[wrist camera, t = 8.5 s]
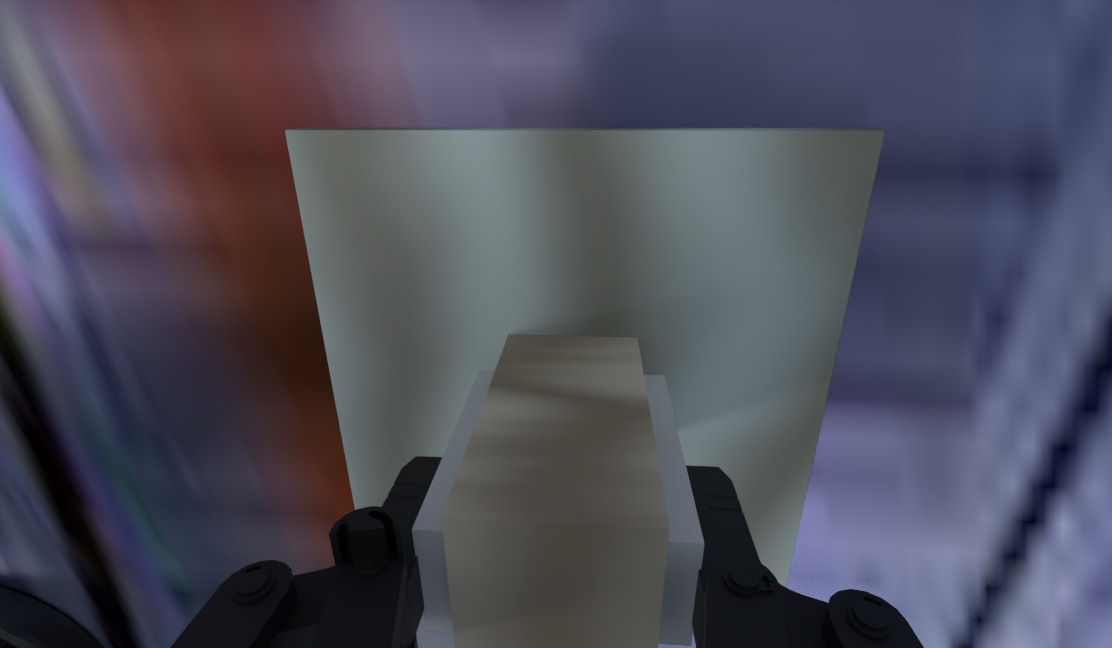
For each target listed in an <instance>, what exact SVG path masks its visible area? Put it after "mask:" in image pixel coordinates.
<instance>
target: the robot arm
mask: <svg viewBox="0 0 1112 648" xmlns="http://www.w3.org/2000/svg"><path fill="white" fill-rule="evenodd" d="M494 372H495V370H479V372H478V374H477V377H476V379H475V381H474V384H473V386H472V389H471V391H470V393H469V396H468V398H467V400H466V403H465V405H464V407H463V410H462V412H461V414H460V417H459V419H458V422H457V424H456V426H455V429H454V431H453V433H452V436H451V438H450V440H449V443H448V445H447V448H446V450H445V452H444V455H443V457H427V456H416V457H414V458H413V459H412V460H411V461H410V462H408V463H407V464H406V465H405V466H404V467H403V468H401V470H400V472H399V474H398V476H397V478H396V480H395V482H394V486H392V488H391V490H390V492H389V493H388V497H387V498H386V499H385V501H384V503H383V505H382V507H377V506H370V507H365V508H361V509H357V510H355V511H353V512H351V513H348V514H346V515H345V516H343V517H342V518H341V519H340V520H339V521H337V522H336V523H335V524H334V526H333V528H332V529H331V531H330V533H329V536H330V541H331V545H332V550H333V555H334V559H335V564H336V565H335V566H332V567H330V568H326V569H323V570H319V571H314V572H309V573H305V574H300V575H295V576H293V575H292V571H291V569H290V568H289V567H288V566H287V565H286V564H285V563H283V562H279V561H276V560H269V561H260V562H257V563H254V564H251V565H248V566H245V567H244V568H242V569H240V570H239V571H237V572H235V573H233V574H232V575H231V576H230V577H229V578H228V579H227V580H226V581H225V582H224V583H223V584H221V586H220V587H219V588H218V589H217V591H216V592H215V593H214V594H213V596H212V597H211V598H210V599H209V601H208V602H207V603H206V604H205V605H204V607H203V608H202V609H201V610H200V612H199V613H198V614H197V615H196V617H195V618H194V619H193V620H192V622H191V623H190V624H189V625H188V626H187V628H186V629H185V630H184V631H183V633H182V634H181V635H180V636H179V638H178V639H177V640H176V641H175V643H174V644H173V645H172V646H171V647H170V648H418V644H417V636H416V632H417V629H418V626H419V623H420V620H421V617H422V614H423V615H424V623H425V630H438V631H453V623H452V614H451V604H450V595H449V586H448V577H447V567H446V558H445V549H444V540H443V531H442V521H441V516H442V513H443V510H444V508H445V505H446V502H447V499H448V497H449V494H450V491H451V489H452V486H453V483H454V480H455V478H456V475H457V472H458V470H459V467H460V464H461V461H462V459H463V456H464V453H465V451H466V448H467V445H468V442H469V440H470V437H471V434H472V432H473V429H474V426H475V423H476V421H477V418H478V415H479V413H480V410H481V407H482V404H483V402H484V399H485V396H486V394H487V391H488V388H489V386H490V383H491V380H492V377H493V375H494ZM644 378H645V384H646V390H647V396H648V402H649V408H650V413H651V419H652V425H653V431H654V437H655V443H656V449H657V455H658V461H659V467H660V472H661V478H662V484H663V490H664V496H665V502H666V508H667V514H668V520H669V526H670V531H669V541H668V551H667V561H666V571H665V581H664V591H663V601H662V611H661V622H660V632H659V642H658V644H669V645H685V646H691V641H692V634H693V632H694V637H695V643H696V648H924V647H923V646H922V644H921V642H920V641H919V639H918V638H917V636H916V634H915V633H914V631H913V630H912V628H911V627H910V625H909V623H908V622H907V621H906V619H905V618H904V617H903V616H902V615H901V614H900V612H899V611H898V610H897V609H896V608H895V607H893V606H892V605H890V604H889V603H888V602H886V601H885V600H883V599H882V598H880V597H877V596H875V595H873V594H870V593H868V592H865V591H859V590H853V589H849V590H842V591H838V592H837V593H835V594H834V595H833V596H831V597H830V600H829V603H827V602H824V601H820V600H817V599H814V598H811V597H808V596H805V595H801V594H799V593H796V592H794V591H791V590H789V589H788V588H786V587H784V586H783V585H781V584H779V583H778V581H777V578H776V577H775V576H774V575H773V573H772V572H771V571H770V570H769V569H768V568H767V567H766V566H764V565H763V564H762V563H761V561H760V559H759V556H758V554H757V551H756V548H755V545H754V542H753V539H752V536H751V534H750V531H749V528H748V525H747V522H746V519H745V516H744V513H742V508H741V505H740V502H739V500H738V498H737V497H738V496H737V493H736V491H735V488H734V485H733V482H732V480H731V479H730V478H729V477H728V476H727V475H726V474H725V473H724V472H723V471H722V470H721V469H720V468H719V467H713V466H688V465H686V464H685V460H684V456H683V451H682V447H681V443H680V439H679V435H678V431H677V426H676V422H675V418H674V414H673V410H672V406H671V401H670V397H669V393H668V389H667V385H666V380H665V376H664V375H644ZM0 648H100V647H99V646H98V645H97V643H96V642H95V641H94V640H93V639H92V638H91V637H90V636H89V635H88V634H87V633H86V632H84V631H83V630H82V629H81V628H80V627H79V626H77V625H76V624H75V623H74V622H72V621H71V620H69V619H68V618H67V617H65V616H64V615H62V614H61V613H59V612H57V611H56V610H54V609H52V608H51V607H49V606H47V605H45V604H43V603H41V602H39V601H37V600H35V599H33V598H30V597H28V596H26V595H23V594H21V593H18V592H15V591H12V590H9V589H6V588H2V587H0Z"/></svg>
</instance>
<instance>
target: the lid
mask: <svg viewBox="0 0 1112 648" xmlns="http://www.w3.org/2000/svg"><path fill="white" fill-rule="evenodd" d="M285 133H286V139H287V144H288V150H289V155H290V160H291V166H292V171H293V177H294V182H295V187H296V193H297V198H298V204H299V209H300V214H301V220H302V225H303V231H304V236H305V242H306V247H307V252H308V258H309V263H310V269H311V274H312V279H313V285H314V290H315V296H316V301H317V306H318V312H319V317H320V323H321V328H322V333H323V339H324V344H325V350H326V355H327V361H328V366H329V371H330V377H331V382H332V388H333V393H334V398H335V404H336V409H337V415H338V420H339V425H340V431H341V436H342V442H343V447H344V452H345V458H346V463H347V469H348V474H349V479H350V485H351V490H352V496H353V501H354V507H355V510H357V509H361V508H365V507H370V506H377V507H382V505H383V503H384V501H385V499H386V498H387V497H388V493H389V492H390V490H391V488H392V486H394V482H395V480H396V478H397V476H398V474H399V472H400V470H401V468H403V467H404V466H405V465H406V464H407V463H408V462H410V461H411V460H412V459H413V458H414V457H416V456H427V457H443V455H444V452H445V450H446V448H447V445H448V443H449V440H450V438H451V436H452V433H453V431H454V429H455V426H456V424H457V422H458V419H459V417H460V414H461V412H462V410H463V407H464V405H465V403H466V400H467V398H468V396H469V393H470V391H471V389H472V386H473V384H474V381H475V379H476V377H477V374H478V372H479V370H495V372H494V375H493V377H492V380H491V383H490V386H489V388H488V391H487V394H486V396H485V399H484V402H483V404H482V407H481V410H480V413H479V415H478V418H477V421H476V423H475V426H474V429H473V432H472V434H471V437H470V440H469V442H468V445H467V448H466V451H465V453H464V456H463V459H462V461H461V464H460V467H459V470H458V472H457V475H456V478H455V480H454V483H453V486H452V489H451V491H450V494H449V497H448V499H447V502H446V505H445V508H444V510H443V513H442V516H441V521H442V531H443V540H444V549H445V558H446V567H447V577H448V586H449V595H450V604H451V614H452V623H453V632H454V641H455V648H658V642H659V632H660V622H661V611H662V601H663V591H664V581H665V571H666V561H667V551H668V541H669V531H670V526H669V520H668V514H667V508H666V502H665V496H664V490H663V484H662V478H661V472H660V467H659V461H658V455H657V449H656V443H655V437H654V431H653V425H652V419H651V413H650V408H649V402H648V396H647V390H646V384H645V378H644V375H664V376H665V380H666V385H667V389H668V393H669V397H670V401H671V406H672V410H673V414H674V418H675V422H676V426H677V431H678V435H679V439H680V443H681V447H682V451H683V456H684V460H685V464H686V465H688V466H713V467H719V468H720V469H721V470H722V471H723V472H724V473H725V474H726V475H727V476H728V477H729V478H730V479H731V480H732V482H733V485H734V488H735V491H736V493H737V496H738V497H737V498H738V500H739V502H740V505H741V508H742V513H744V516H745V519H746V522H747V525H748V528H749V531H750V534H751V536H752V539H753V542H754V545H755V548H756V551H757V554H758V556H759V559H760V561H761V563H762V564H763V565H764V566H766V567H767V568H768V569H769V570H770V571H771V572H772V573H773V575H774V576H775V577H776V578H777V581H778V583H779V584H781V585H783V586H784V587H786V584H787V580H788V575H789V570H790V566H791V561H792V557H793V552H794V547H795V543H796V538H797V534H798V529H799V524H800V520H801V515H802V511H803V506H804V501H805V497H806V492H807V488H808V483H809V478H810V474H811V469H812V465H813V460H814V455H815V451H816V446H817V442H818V437H819V433H820V428H821V423H822V419H823V414H824V410H825V405H826V400H827V396H828V391H829V387H830V382H831V377H832V373H833V368H834V364H835V359H836V354H837V350H838V345H839V341H840V336H841V331H842V327H843V322H844V318H845V313H846V308H847V304H848V299H849V295H850V290H851V286H852V281H853V276H854V272H855V267H856V263H857V258H858V253H859V249H860V244H861V240H862V235H863V230H864V226H865V221H866V217H867V212H868V207H869V203H870V198H871V194H872V189H873V184H874V180H875V175H876V171H877V166H878V161H879V157H880V152H881V148H882V143H883V138H884V134H885V130H877V129H869V128H300V129H291V130H285Z"/></svg>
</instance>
